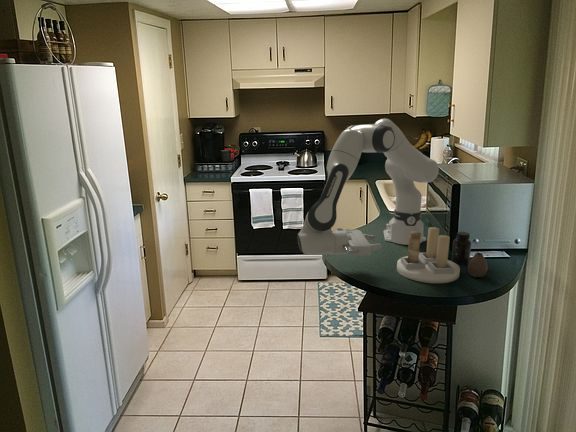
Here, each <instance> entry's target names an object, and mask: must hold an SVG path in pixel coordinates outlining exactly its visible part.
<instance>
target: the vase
mask: <svg viewBox="0 0 576 432" xmlns="http://www.w3.org/2000/svg"><path fill="white" fill-rule="evenodd" d="M488 266H489V265H488V261H487V260H486V258H485V257H484V255H483V253H481V252H475V254H474V255H473V256H472V257H470V260H469V263H468V264H467V272H468V274H469V275H470V276H471V277H472V276H473V278H476V277H481V278H483V277H484V276H486V274H487V272H488Z"/></svg>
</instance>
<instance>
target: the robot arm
mask: <svg viewBox="0 0 576 432" xmlns="http://www.w3.org/2000/svg"><path fill="white" fill-rule="evenodd" d="M362 153H368V154H369V153H379V154H384V156H385V157H386V158H387V159H386V160H385V164H384V168H385V172H386V174H387V175H388V176H389V177H390V179H391V181H392V183H393V185H394V190H395V208H394V210H393V215H392V216H393V217H392V218H391V219H390V220H389V222H388V223H386V224H385V228H386V229H384V230H383V237H384V241H386V242H391V243H394V244H398V245H403V246H404V245H405V246H406V245H407V246H409V235H410V232H411V231H417V232H420V233H421V236H420V244H421V243H423V242H425V241H426V242H427V238H426V237H425V236H424V222H423V221H422V210H421V208H422V199H423V198H422V197H423V196H422V192H421V191H420V190H419V189H418V188H417V187H416V185H415V182H416V183H425V184H426V183H432V182H434V181H435V180H436V179H437V178H438V175H439V164H438V162H437V161H436V160H434V159H432V158H430V157H428V156H427V155H425V154H423V153H422V152H421V151H420V150H419V149H418V148H416V147H415V146H414V145H413V144H412V143H410V142H409V140H408V139H407V137H406V135H405V134H404V133H403V131H402V130H401V129H400V128H399V126H398V125H397V124H395V123H394V122H393V121H392V120H391V119H389V118H380V119H379V120H377V121H375V123H368V124H353V125H350V126H348V127H346V128H345V130H343V131H342V132H341V133H340V134H339V136H338V138H337V139H336V141H335V143H334V145H333V147H332V149H331V151H330V154H329V156H328V159H327V164H326V172H327V180H326V181H325V182H326V183H325V185H324V188H323V190H322V193H321V195H320V196H319V199H318V200H317V201H316V202H315V203H314V204H313V205H312V206H311V207H310V208H309V210H308V211H307V213H306V215H305V218H304V222H303V225H302V226H301V229H300V231H299V232H298V233H297V235H296V236H297V237H296V238H297V239H296V240H297V245H298V248H299V250H300V252H301V253H302V254H304V255H312V256H322V255H347V254H348V253H349V254H350V255H352V256H359V257H360V256H363V257H364V256H365V257H367V256H370V255H372V251H376V250H381V249H382V247H383V245H382V243H380V242H376V243H370V242H369V241H374V242H375V241H376V236H375V234H366V233H363V232H362V231H361V230H360V229H356V228H355V229H354V228H353V229H352V228H342V227H337V228H336V229H335V230H331V228H333V227H334V226H335V224H336V222H337V205H338V202H339V198H340V196H341V194H342V191H343V189H344V187H345V185H346V183H347V181H349V179H350V178H351V176H352V175H353V173H354V172H355V170H356V168H357V166H358V165H359V164H358V163H359V161H360V159H361V155H362Z"/></svg>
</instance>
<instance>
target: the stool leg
mask: <svg viewBox="0 0 576 432" xmlns="http://www.w3.org/2000/svg"><path fill="white" fill-rule="evenodd" d="M420 236H421V233H420V232H417V231H411V232H410V235H409V245H408V247H407V249H408V250H407V256H408V260H407V263H418V259H419V253H420V246H421V243H420Z"/></svg>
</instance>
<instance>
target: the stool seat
mask: <svg viewBox="0 0 576 432" xmlns="http://www.w3.org/2000/svg"><path fill="white" fill-rule="evenodd" d="M427 231H428V232H427V239H426V252H419V259H418V263H407V260H408V255H407V256H406V255H405V256H403V257H400V258H399V259H398V260H397V263H396V272H397V273H398V274H400V276H403V278H406V279H410V280H411V281H416V282H420V283H427V284H446V283H447V284H448V283H451V282H454V281H457V280H458V279H459V277H460V273H461V268H460V265H459V264H456V263H454V262H452V260H449V259H448V258H449V252H450V250H449V249H450V242H451V241H450V240H451V239H450V236H449V235H445V234H440V228H438V227H436V226H431V227H428V230H427Z"/></svg>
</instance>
